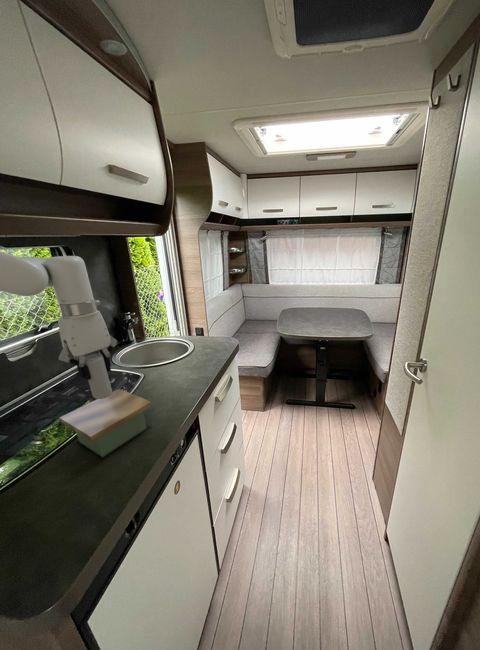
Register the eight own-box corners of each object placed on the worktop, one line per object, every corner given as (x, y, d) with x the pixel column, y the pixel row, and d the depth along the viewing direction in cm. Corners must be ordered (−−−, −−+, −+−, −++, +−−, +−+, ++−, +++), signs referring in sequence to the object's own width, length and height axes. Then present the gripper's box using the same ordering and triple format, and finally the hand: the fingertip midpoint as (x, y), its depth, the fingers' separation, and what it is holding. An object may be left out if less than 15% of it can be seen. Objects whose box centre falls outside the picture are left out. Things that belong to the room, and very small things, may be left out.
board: (60, 422, 77) (58, 417, 77) (120, 392, 91) (119, 388, 91) (92, 441, 69) (90, 436, 69) (152, 406, 83) (151, 401, 83)
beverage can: (95, 392, 79) (84, 354, 75) (114, 389, 81) (104, 351, 76) (91, 401, 75) (79, 361, 71) (110, 398, 76) (100, 358, 72)
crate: (79, 443, 81) (71, 420, 78) (123, 417, 92) (118, 396, 89) (103, 458, 75) (95, 434, 72) (147, 429, 86) (142, 407, 83)
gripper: (103, 300, 77) (117, 360, 84) (31, 315, 64) (55, 384, 71) (119, 303, 73) (133, 365, 80) (46, 319, 60) (70, 392, 67)
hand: (96, 373), depth 75 cm, fingers closed on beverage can, 4 cm apart
